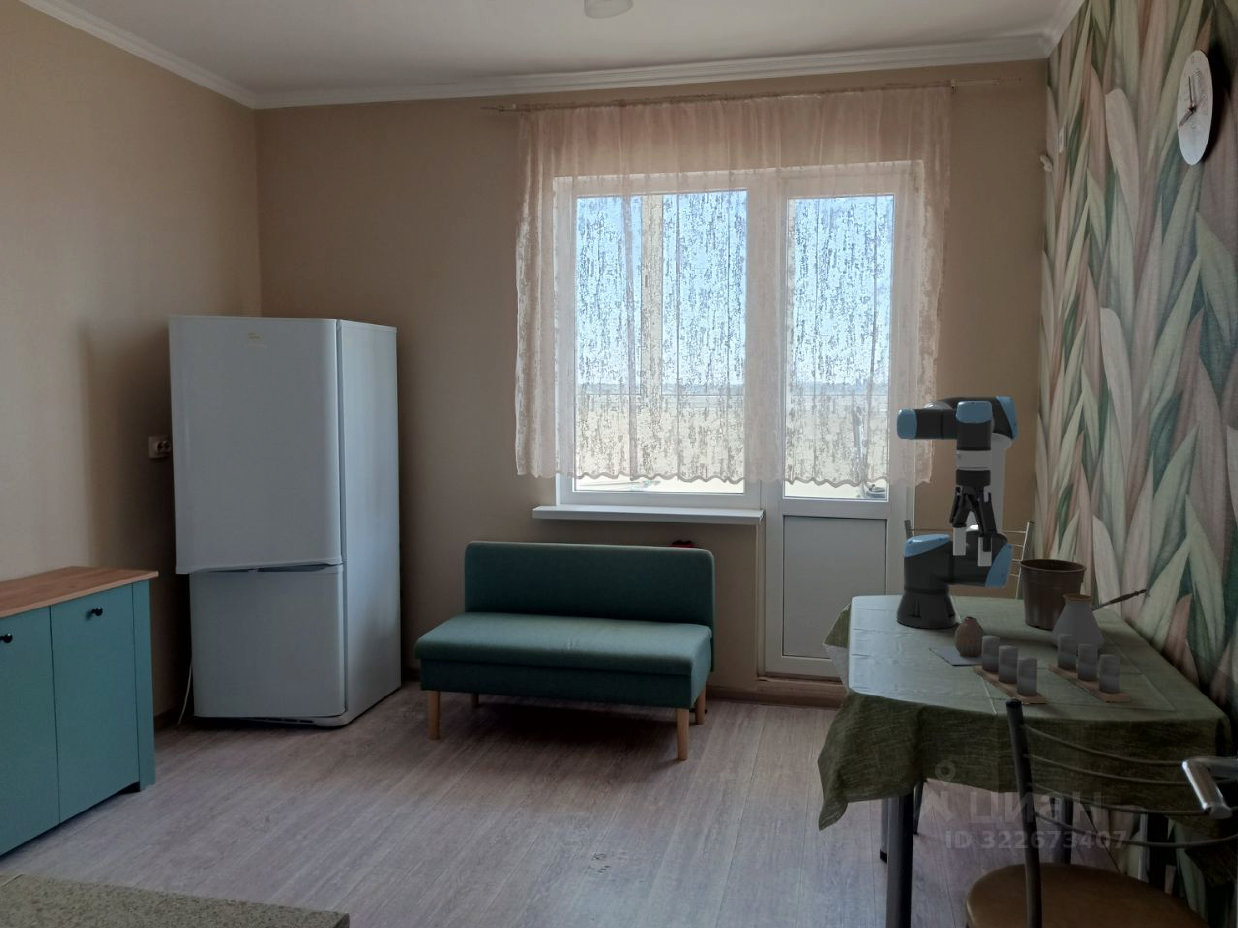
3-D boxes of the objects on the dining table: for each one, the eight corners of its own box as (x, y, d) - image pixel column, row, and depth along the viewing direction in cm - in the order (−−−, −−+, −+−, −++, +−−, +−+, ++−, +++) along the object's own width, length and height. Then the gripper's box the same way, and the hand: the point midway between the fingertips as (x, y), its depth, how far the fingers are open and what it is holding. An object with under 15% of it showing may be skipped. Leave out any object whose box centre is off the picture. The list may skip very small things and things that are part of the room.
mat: (928, 648, 223) (928, 646, 223) (985, 647, 223) (985, 645, 223) (952, 665, 209) (952, 664, 209) (1013, 664, 209) (1013, 662, 209)
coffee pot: (1058, 655, 216) (1060, 592, 214) (1043, 642, 227) (1045, 582, 226) (1157, 658, 212) (1159, 594, 211) (1137, 645, 224) (1139, 583, 222)
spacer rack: (973, 670, 205) (973, 634, 204) (1070, 668, 206) (1071, 631, 205) (1021, 704, 183) (1022, 663, 182) (1129, 701, 184) (1131, 660, 183)
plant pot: (1097, 632, 235) (1098, 569, 234) (1032, 633, 236) (1034, 570, 234) (1067, 617, 251) (1069, 558, 250) (1007, 617, 252) (1008, 558, 250)
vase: (990, 654, 216) (991, 617, 215) (978, 660, 211) (978, 622, 210) (961, 648, 221) (962, 612, 220) (948, 654, 216) (949, 617, 215)
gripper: (935, 464, 225) (934, 551, 226) (981, 473, 200) (979, 571, 202) (966, 463, 225) (964, 550, 227) (1015, 473, 200) (1013, 570, 202)
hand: (971, 560), depth 214 cm, fingers open, 13 cm apart
